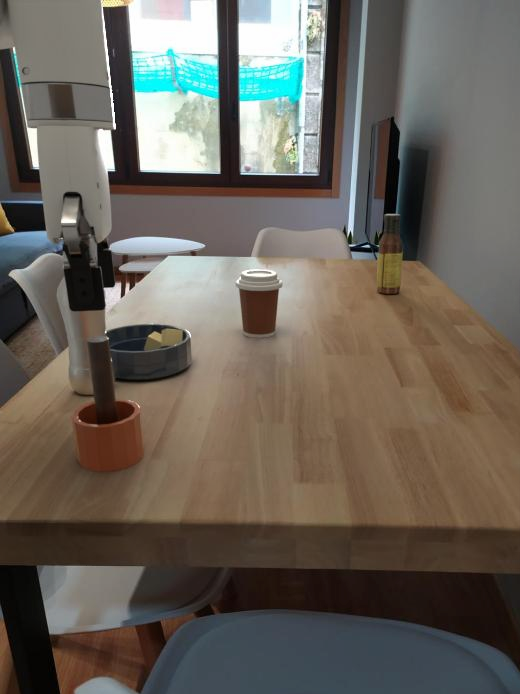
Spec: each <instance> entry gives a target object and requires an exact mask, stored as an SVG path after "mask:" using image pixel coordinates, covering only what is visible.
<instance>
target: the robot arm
mask: <svg viewBox="0 0 520 694" xmlns="http://www.w3.org/2000/svg"><path fill="white" fill-rule="evenodd" d="M103 7H104V6H103V0H0V50H6V49H13V48H14V51H15V57H16V64H17V70H18V71H17V72H18V76H19V83H20V88H21V95H22V102H23V107H24V114H25V120H26V127H27V128H29V129H36V146H37V148H36V149H37V159H38V160H37V161H38V172H39V181H40V189H41V199H42V206H43V215H44V223H45V232H46V237H47V240H48V241H49V242H50V243H51V244H53V245H57V244H60V243H62V244H61V245H62V255H63V259H62V266H63V265H64V270H63V275H64V276H65V282H66V289H67V295H68V302H69V308H70V310H71V311H98V310H104V309H105V307H107V303H106V302H105V300H106V299H105V294H104V290H105V289H111V288H115V286H116V276H115V268H114V259H113V258H114V257H113V250H112V249H110V248H111V246H110V245H111V244H110V239H109V235H110V233H111V231H112V228H113V227H112V226H113V225H112V224H113V223H112V205H111V193H110V182H109V174H108V173H109V172H108V165H107V155H106V145H105V140H104V139H105V138H104V131H115V130H116V123H115V112H114V103H113V101H114V100H113V93H112V85H111V75H110V65H109V55H108V46H107V45H108V44H107V35H106V28H105V27H106V25H105V18H104V8H103ZM64 276H63V277H64ZM105 310H106V309H105Z"/></svg>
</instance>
